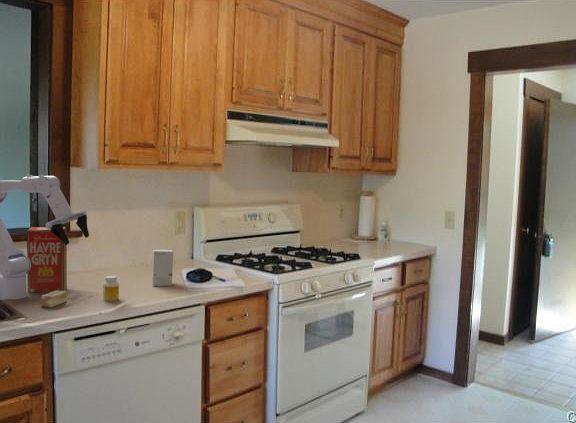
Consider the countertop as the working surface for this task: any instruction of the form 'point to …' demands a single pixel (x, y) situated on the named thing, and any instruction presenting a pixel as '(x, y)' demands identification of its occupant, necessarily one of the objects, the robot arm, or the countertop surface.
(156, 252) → the skincare box
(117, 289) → the supplement bottle
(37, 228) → the food packaging
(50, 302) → the block
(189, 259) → the countertop surface
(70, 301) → the marked board
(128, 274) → the countertop surface
